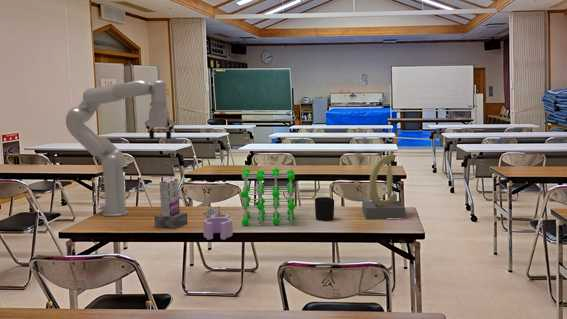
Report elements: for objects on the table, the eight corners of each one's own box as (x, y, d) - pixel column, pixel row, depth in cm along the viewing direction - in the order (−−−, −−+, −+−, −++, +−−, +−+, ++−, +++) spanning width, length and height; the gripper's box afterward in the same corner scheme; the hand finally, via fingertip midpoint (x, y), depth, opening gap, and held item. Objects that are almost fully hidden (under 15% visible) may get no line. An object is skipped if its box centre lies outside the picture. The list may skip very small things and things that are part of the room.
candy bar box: (170, 212, 293) (168, 178, 291) (180, 212, 292) (178, 178, 290) (160, 217, 282) (159, 181, 280) (170, 217, 281) (169, 181, 279)
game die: (217, 230, 292) (229, 213, 292) (210, 227, 284) (222, 209, 285) (204, 219, 296) (216, 202, 296) (196, 216, 288) (209, 199, 288)
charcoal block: (154, 227, 284) (154, 216, 283) (167, 222, 294) (166, 211, 294) (175, 228, 280) (175, 217, 280) (187, 223, 290) (187, 213, 290)
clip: (207, 229, 278) (207, 214, 278) (235, 229, 278) (234, 214, 278) (201, 240, 259) (200, 224, 258) (230, 239, 258) (230, 223, 258)
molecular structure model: (244, 215, 307) (243, 167, 304) (294, 214, 307) (293, 166, 304) (241, 226, 283) (240, 174, 280) (295, 225, 283) (294, 173, 280)
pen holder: (337, 218, 298) (337, 197, 297) (330, 221, 289) (330, 201, 288) (319, 216, 302) (319, 196, 301) (311, 220, 293) (311, 199, 292)
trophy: (405, 219, 293) (405, 157, 290) (366, 219, 294) (366, 157, 290) (399, 211, 312) (399, 152, 308) (362, 211, 312) (362, 153, 309)
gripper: (140, 105, 309) (141, 139, 311) (170, 105, 303) (171, 139, 305) (148, 105, 316) (149, 138, 318) (177, 104, 310) (178, 138, 312)
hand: (160, 138), depth 312 cm, fingers open, 9 cm apart
